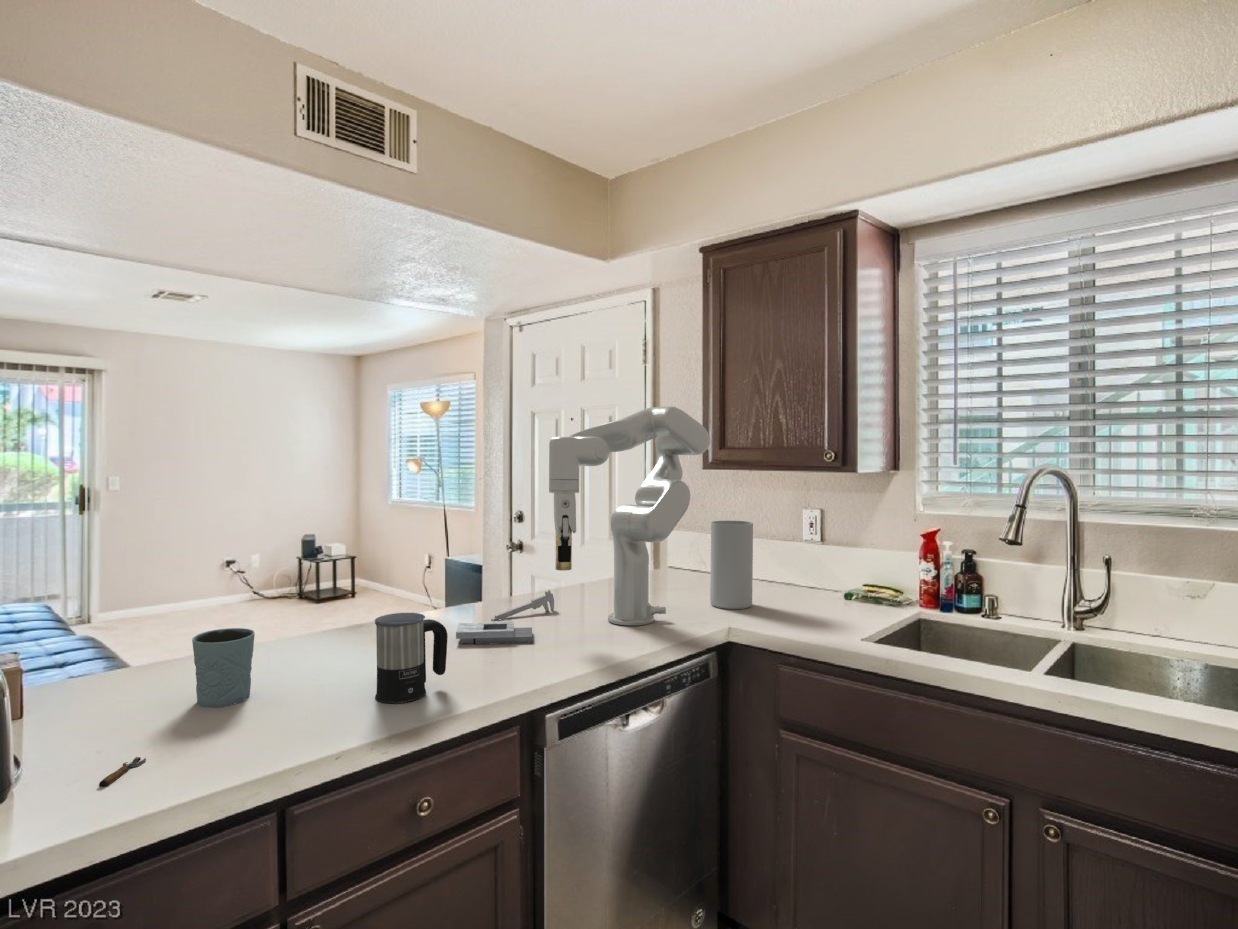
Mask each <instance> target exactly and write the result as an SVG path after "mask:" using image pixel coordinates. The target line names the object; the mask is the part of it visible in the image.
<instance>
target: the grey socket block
mask: <svg viewBox="0 0 1238 929" xmlns="http://www.w3.org/2000/svg"><path fill="white" fill-rule="evenodd" d="M455 639H456V640H457V639H458V640H459V639H460V644H461V643H472V644H476V645H491V644H490V643H509V644H529V643H528V642H531V643H530V644H532V643H533V627H515V622H514V621H504V622H502V621H501V622H495V621H492V622H465V623H464V622H461V623H458V626H457V629H456V632H455Z"/></svg>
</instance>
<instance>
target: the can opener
mask: <svg viewBox="0 0 1238 929" xmlns="http://www.w3.org/2000/svg"><path fill="white" fill-rule="evenodd" d="M137 762H138V763H137ZM146 762H147V758H146V757H145V758H144V759H141V757H140V756H136V757H134V758H133V760H132V761H131V762H130V763H129V762H127V761H126V762H123V763H122V766H121V767H120V768H118V769H116V770H115V771H114V772H112V773H110V774H108V775H107V776H105V777H104V778H103V779H102V780H101V781H100V782H99V784H98V786H99V788H106V787H108V786H109V785H112V783H114V782H115V781H116V780H118V779H119V778H120V777H122V775H124V774H126V773H127V772H128V771H129V770H130V768H137V767H141V766H142V765H144V764H145V763H146Z"/></svg>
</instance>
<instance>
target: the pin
mask: <svg viewBox="0 0 1238 929" xmlns="http://www.w3.org/2000/svg"><path fill="white" fill-rule="evenodd" d="M561 533H563V530H561ZM568 533H569V532H568ZM558 546H559V533H557V532H556V531H555V566H554V568H555V570H556V571H571V570H572V567H573V566H572V565H573V564H572V561H573V559H572V557H573V553H572V551H573V550H572V549H573V547H572V546H573V532H572V531H571V528H570V546H571V562H558Z"/></svg>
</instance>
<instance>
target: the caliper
mask: <svg viewBox="0 0 1238 929" xmlns="http://www.w3.org/2000/svg"><path fill="white" fill-rule="evenodd" d="M554 598H555V596H554V594H553V593H551V590H550V589H548V590H547V591H546V590H545V591H544V595H540V596H539V597H536V598H534V599H531V601H529V602H527V603H524V604H521V605H520V606H516V607H514V608H512V609H508V610H506V611H503V612H500V613H498V614H495V615H494V617H492V618H491V619H490V621H492V622H494V621H499V620H498V619H501V620H504V619H506V618H509V617H512V616H514V615H517V614H520V613H523V612H525V611H528V610H530V609H533V610H537V609H540V608H542V606H543V610H546V611H545V612H547V611H548V612H550V611H552V610H553V611H555V599H554ZM548 603H549V604H548ZM549 608H550V610H549ZM493 620H494V621H493Z"/></svg>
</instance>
